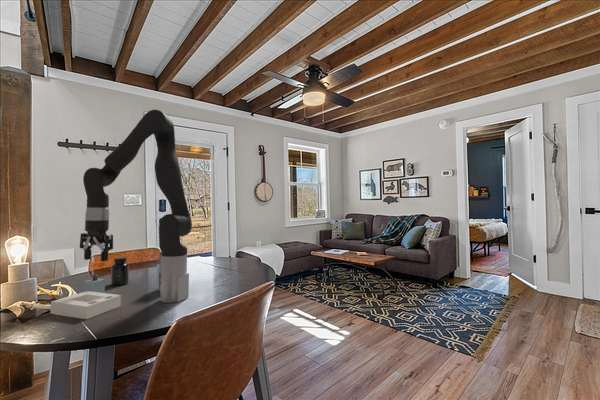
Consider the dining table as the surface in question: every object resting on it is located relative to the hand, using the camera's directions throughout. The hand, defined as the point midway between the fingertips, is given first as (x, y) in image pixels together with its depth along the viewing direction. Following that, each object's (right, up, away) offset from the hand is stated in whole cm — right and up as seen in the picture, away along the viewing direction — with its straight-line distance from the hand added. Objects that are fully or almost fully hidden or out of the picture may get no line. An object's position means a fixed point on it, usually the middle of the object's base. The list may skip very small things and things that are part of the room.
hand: (95, 260), depth 108 cm
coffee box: (+23, -16, +14) cm, 31 cm away
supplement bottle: (-3, -15, +19) cm, 25 cm away
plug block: (0, -15, -1) cm, 15 cm away
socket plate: (+6, -14, -13) cm, 20 cm away
